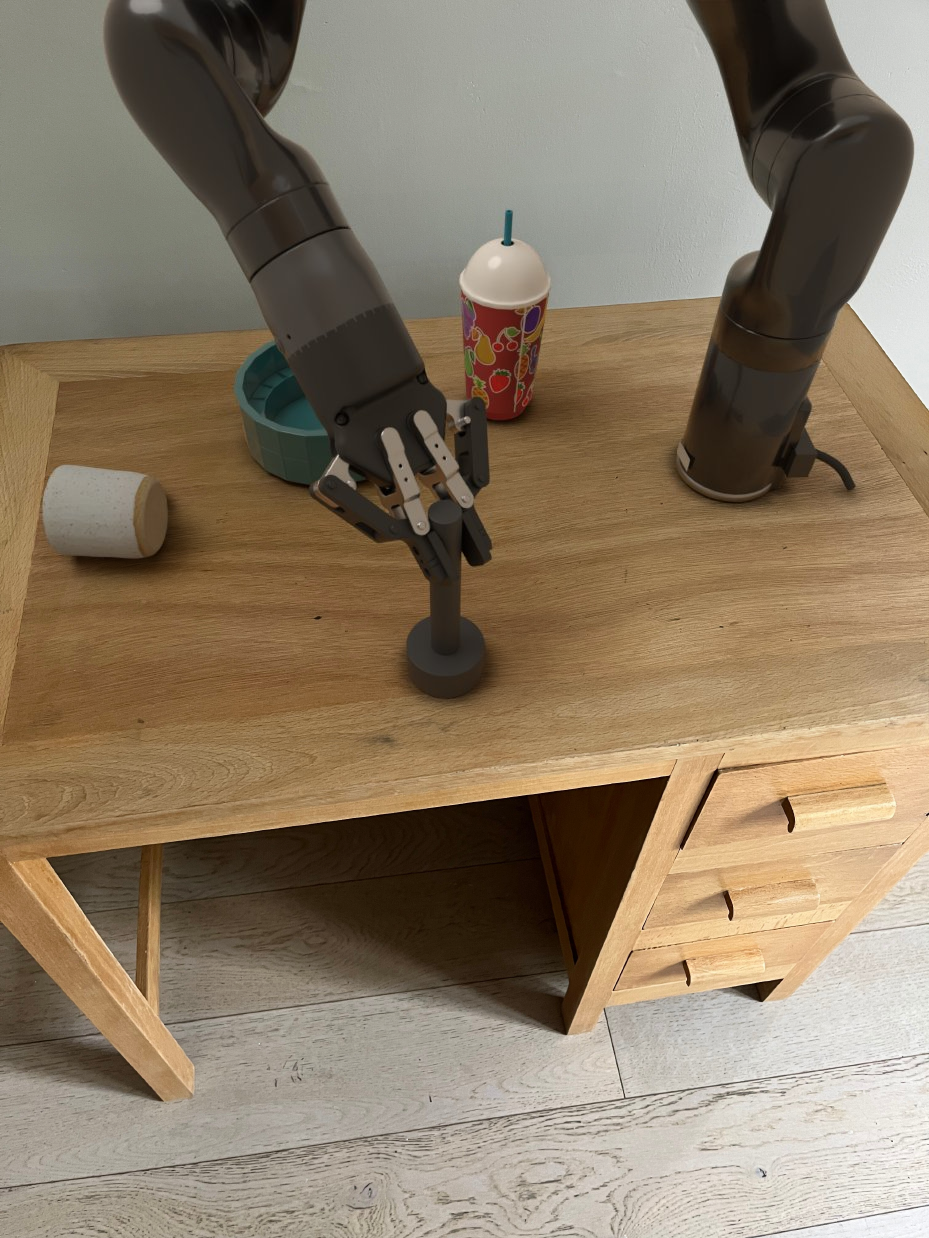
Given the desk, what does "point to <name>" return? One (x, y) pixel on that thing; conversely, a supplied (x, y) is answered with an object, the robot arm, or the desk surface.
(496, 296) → the smoothie
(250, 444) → the bowl
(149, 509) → the ceramic mug
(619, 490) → the desk surface
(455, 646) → the rod on round base
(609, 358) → the desk surface
